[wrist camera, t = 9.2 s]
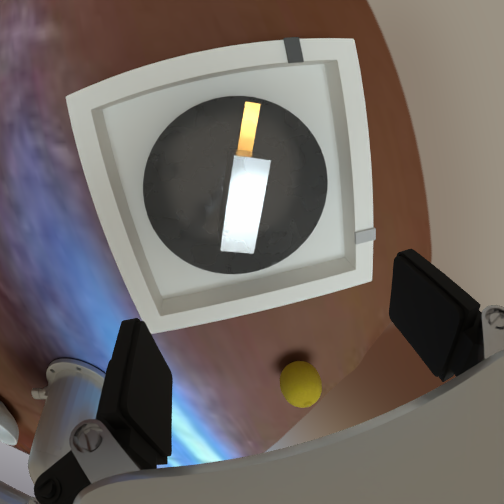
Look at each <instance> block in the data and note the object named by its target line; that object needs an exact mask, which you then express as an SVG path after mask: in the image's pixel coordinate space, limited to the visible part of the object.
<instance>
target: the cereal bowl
mask: <svg viewBox="0 0 504 504" xmlns="http://www.w3.org/2000/svg"><path fill="white" fill-rule="evenodd" d="M18 435H19V430H18V426H17V423H16V421H15V419H14V417H13V416H12V415H11V413H10V412H9V411H8V410H7V408H6V407H5V405H4V404H3V403H2V402H1V401H0V442H3V443H5V444H9V445H16V444H17V441H18Z"/></svg>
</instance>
